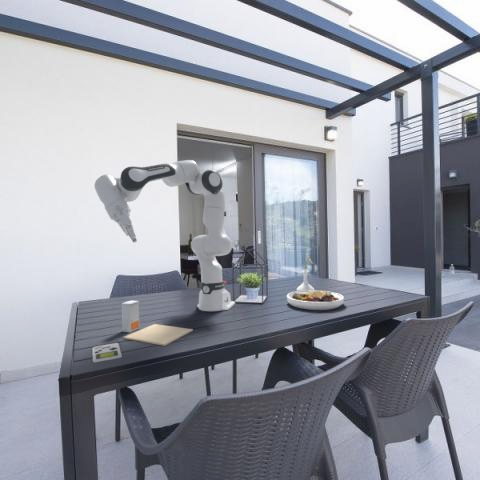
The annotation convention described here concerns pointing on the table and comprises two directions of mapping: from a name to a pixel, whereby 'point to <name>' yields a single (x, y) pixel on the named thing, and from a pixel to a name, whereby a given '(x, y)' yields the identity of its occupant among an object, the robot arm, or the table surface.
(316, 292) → the bowl
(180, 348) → the table surface
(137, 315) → the skincare box
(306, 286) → the flower in vase
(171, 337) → the mat
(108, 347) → the handheld gaming device
